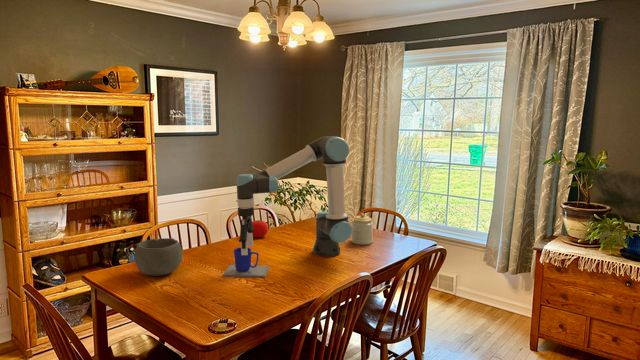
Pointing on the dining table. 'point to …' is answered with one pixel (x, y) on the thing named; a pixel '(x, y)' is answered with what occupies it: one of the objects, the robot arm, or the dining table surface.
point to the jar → (362, 230)
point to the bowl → (158, 256)
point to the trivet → (252, 272)
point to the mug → (244, 260)
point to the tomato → (259, 228)
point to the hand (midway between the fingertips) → (247, 250)
